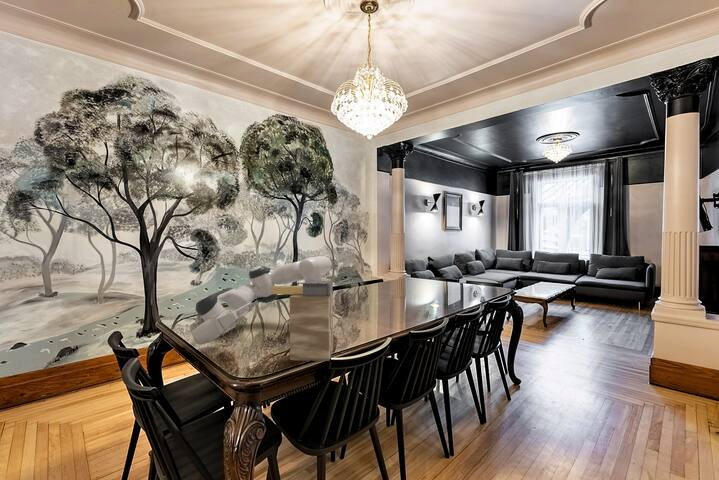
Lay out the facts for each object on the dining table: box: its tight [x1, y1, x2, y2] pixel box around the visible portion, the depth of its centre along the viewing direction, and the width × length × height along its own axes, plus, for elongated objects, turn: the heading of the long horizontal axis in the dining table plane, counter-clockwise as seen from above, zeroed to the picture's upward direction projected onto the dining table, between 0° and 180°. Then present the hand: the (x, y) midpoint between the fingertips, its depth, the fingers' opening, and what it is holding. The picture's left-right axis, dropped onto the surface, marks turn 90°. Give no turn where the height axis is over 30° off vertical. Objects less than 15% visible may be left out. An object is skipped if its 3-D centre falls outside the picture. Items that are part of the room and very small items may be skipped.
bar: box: [272, 285, 303, 295], centre depth 136 cm, size 3×24×3 cm, turn 86°
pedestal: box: [289, 293, 334, 362], centre depth 136 cm, size 12×16×26 cm
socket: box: [302, 280, 334, 296], centre depth 136 cm, size 8×11×5 cm
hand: (253, 304), depth 138 cm, fingers open, 8 cm apart
